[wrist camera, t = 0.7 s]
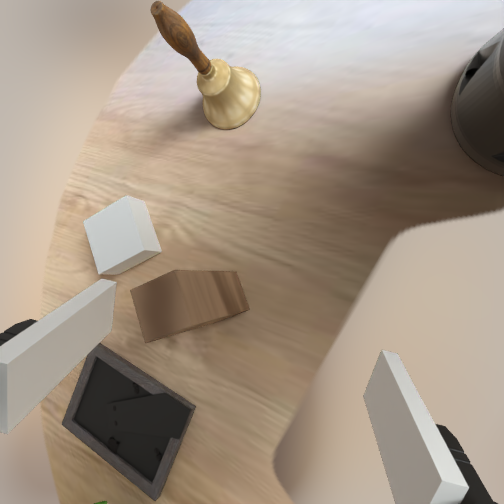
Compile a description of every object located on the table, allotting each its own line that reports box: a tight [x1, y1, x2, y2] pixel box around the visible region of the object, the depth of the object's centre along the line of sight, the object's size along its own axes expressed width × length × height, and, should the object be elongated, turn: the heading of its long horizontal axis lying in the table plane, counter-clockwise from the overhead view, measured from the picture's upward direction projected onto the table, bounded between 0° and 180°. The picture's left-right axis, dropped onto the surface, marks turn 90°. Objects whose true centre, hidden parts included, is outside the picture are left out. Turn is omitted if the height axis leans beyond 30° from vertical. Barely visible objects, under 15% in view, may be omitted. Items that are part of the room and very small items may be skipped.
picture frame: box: [62, 343, 196, 501], centre depth 46 cm, size 13×2×18 cm
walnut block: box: [130, 270, 249, 343], centre depth 36 cm, size 5×5×14 cm
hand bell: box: [151, 1, 261, 129], centre depth 37 cm, size 8×8×16 cm
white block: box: [83, 195, 162, 274], centre depth 47 cm, size 8×8×4 cm
